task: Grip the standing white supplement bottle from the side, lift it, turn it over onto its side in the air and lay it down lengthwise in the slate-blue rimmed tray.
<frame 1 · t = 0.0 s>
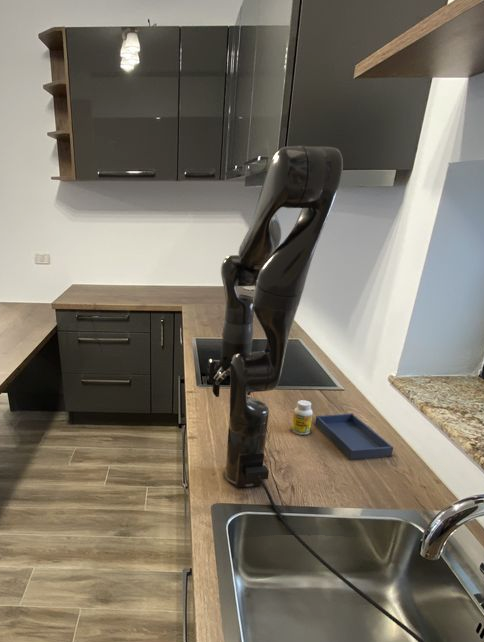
hand: (232, 394, 119), 17 cm above the counter, tool pointing down, fingers open, 8 cm apart
supplement bottle: (300, 431, 136), on the counter
tray: (350, 439, 131), on the counter
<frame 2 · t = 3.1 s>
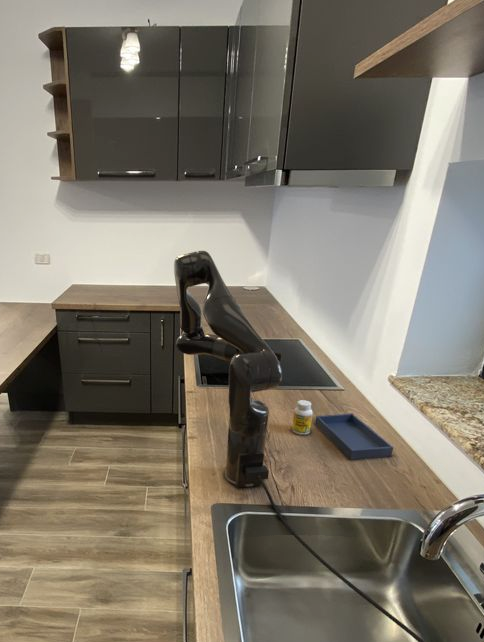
hand: (274, 361, 135), 20 cm above the counter, tool horizontal, fingers open, 8 cm apart
nothing on the counter moved.
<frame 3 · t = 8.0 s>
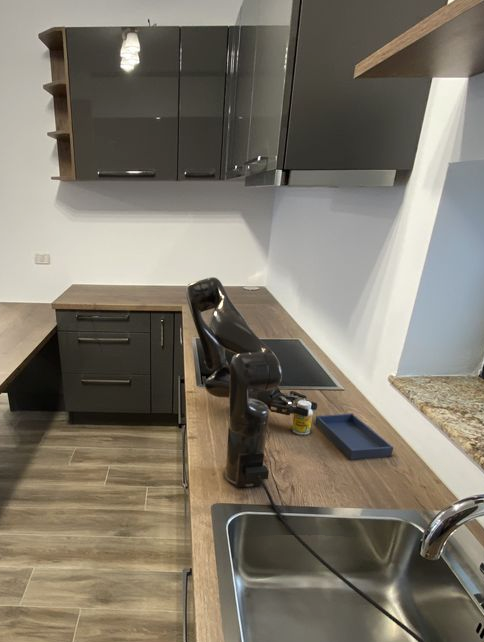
hand: (312, 410, 131), 8 cm above the counter, tool horizontal, fingers closed on supplement bottle, 5 cm apart
supplement bottle: (300, 431, 136), on the counter, touching gripper
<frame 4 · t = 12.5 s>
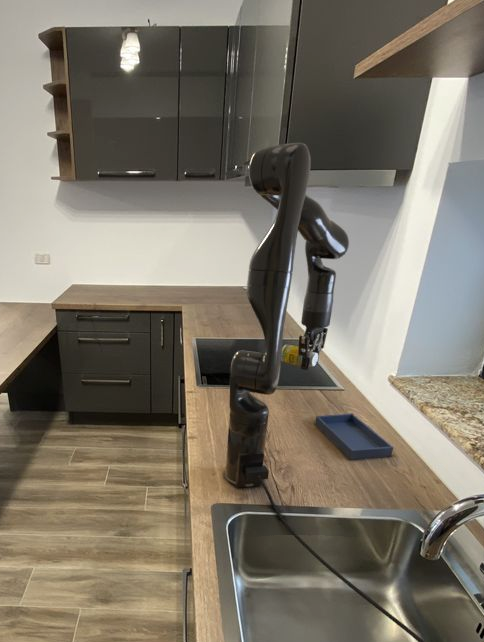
hand: (309, 366, 127), 21 cm above the counter, tool pointing down, fingers closed on supplement bottle, 5 cm apart
supplement bottle: (283, 352, 131), point 23 cm above the counter, touching gripper
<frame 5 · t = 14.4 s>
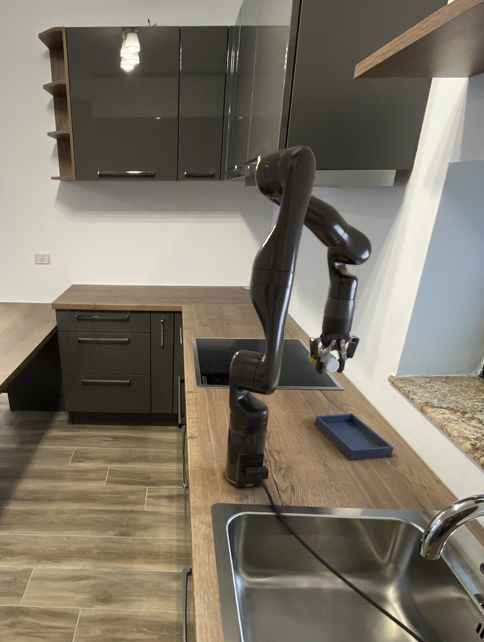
hand: (329, 372, 126), 20 cm above the counter, tool pointing down, fingers closed on supplement bottle, 5 cm apart
supplement bottle: (316, 355, 133), point 22 cm above the counter, touching gripper
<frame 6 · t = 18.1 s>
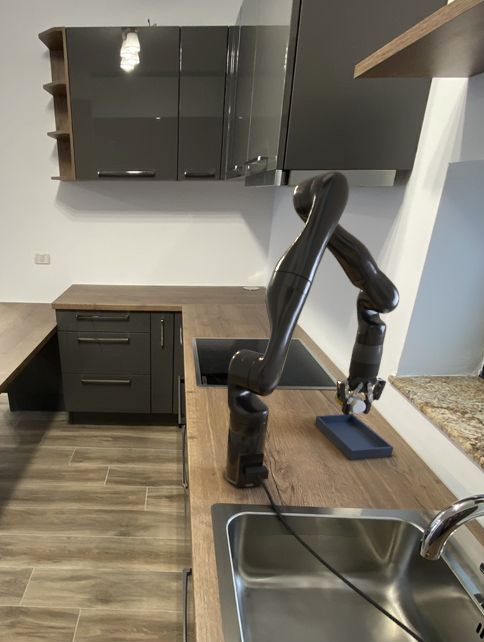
hand: (355, 413, 128), 9 cm above the counter, tool pointing down, fingers closed on supplement bottle, 5 cm apart
supplement bottle: (341, 394, 135), point 11 cm above the counter, touching gripper
when the fingers open (1 cm above the counter, at t = 20.7 s): supplement bottle stays where it is, resting on tray.
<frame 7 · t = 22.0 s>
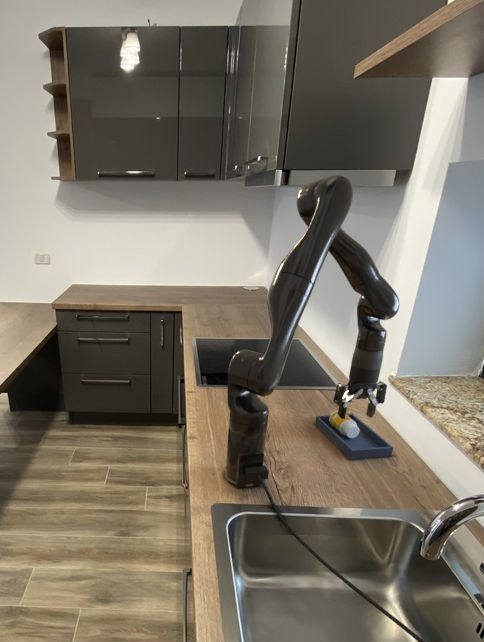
hand: (355, 417, 128), 8 cm above the counter, tool pointing down, fingers open, 8 cm apart
supplement bottle: (336, 417, 138), point 3 cm above the counter, touching tray
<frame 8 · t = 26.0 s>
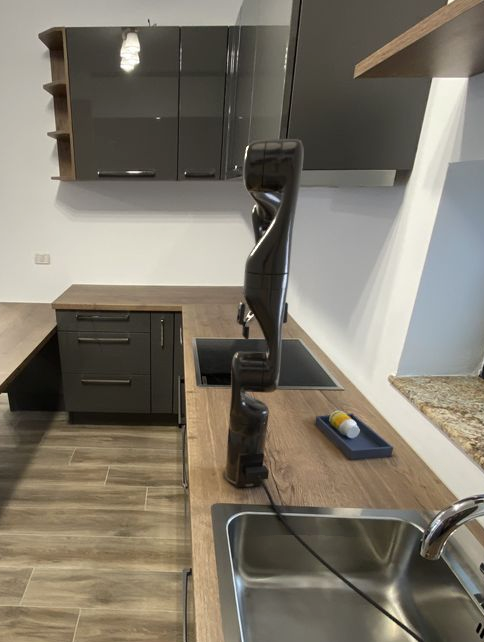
hand: (260, 337, 129), 28 cm above the counter, tool pointing down, fingers open, 8 cm apart
nothing on the counter moved.
at the end: supplement bottle tilted 90°; supplement bottle inside the target area in the tray (8.4 cm from its centre), point 3.1 cm above the tray's base; the gripper is holding nothing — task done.
